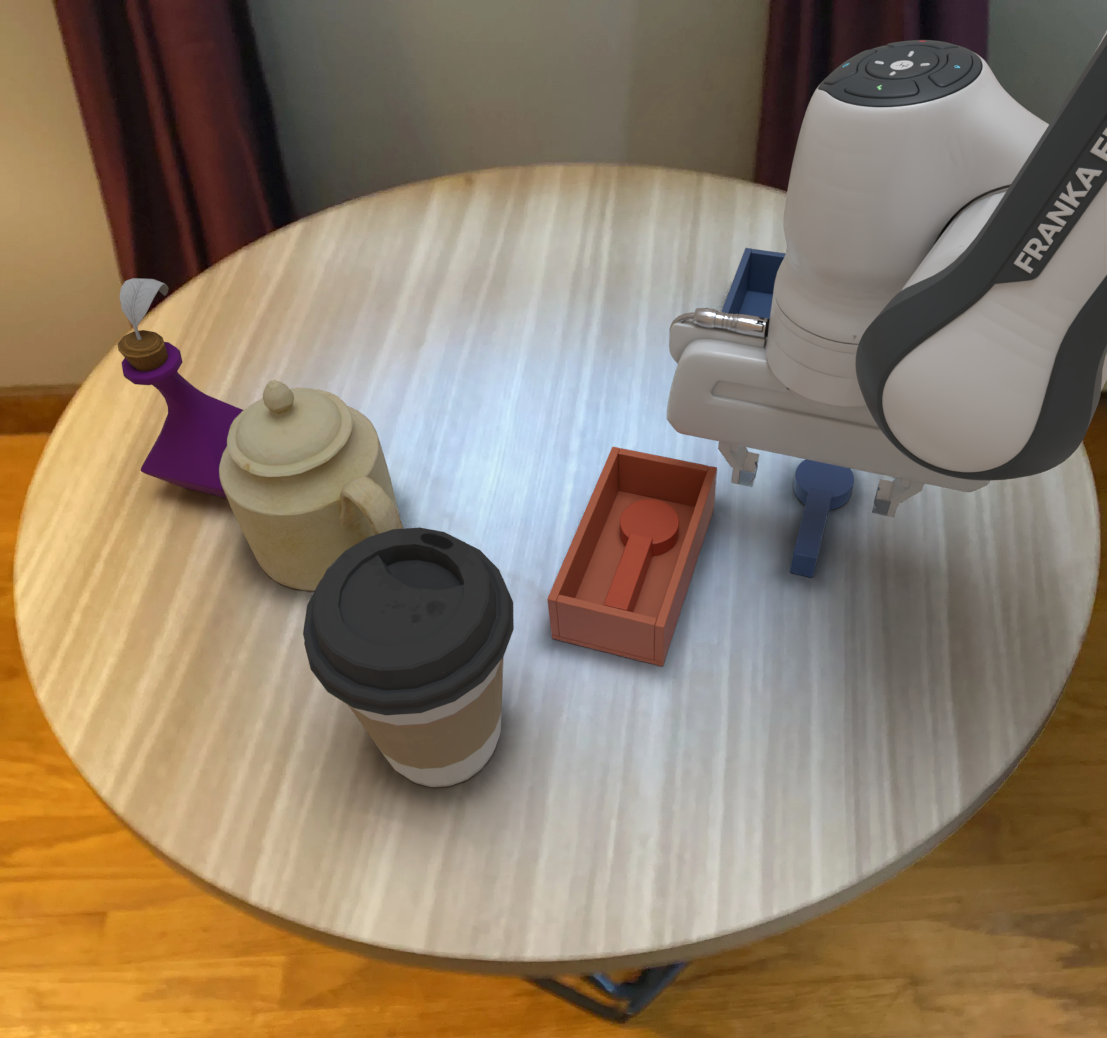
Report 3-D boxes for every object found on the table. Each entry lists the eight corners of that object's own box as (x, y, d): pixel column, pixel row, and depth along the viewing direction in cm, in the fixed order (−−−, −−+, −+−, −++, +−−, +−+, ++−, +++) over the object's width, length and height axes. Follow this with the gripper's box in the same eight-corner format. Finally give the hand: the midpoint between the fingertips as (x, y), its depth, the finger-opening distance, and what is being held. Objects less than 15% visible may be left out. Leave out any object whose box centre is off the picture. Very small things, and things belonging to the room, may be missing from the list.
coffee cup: (562, 693, 66) (546, 546, 55) (481, 850, 60) (443, 720, 49) (410, 637, 70) (365, 488, 59) (317, 779, 63) (247, 643, 52)
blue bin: (828, 303, 90) (836, 260, 87) (798, 411, 82) (805, 368, 78) (741, 290, 92) (745, 247, 89) (703, 394, 84) (705, 351, 80)
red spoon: (646, 634, 68) (646, 614, 67) (585, 619, 69) (584, 600, 68) (685, 518, 75) (686, 497, 73) (629, 506, 76) (628, 486, 74)
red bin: (714, 509, 76) (717, 466, 72) (662, 667, 67) (664, 627, 64) (613, 488, 78) (612, 445, 74) (551, 638, 69) (546, 598, 66)
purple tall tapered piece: (238, 519, 78) (152, 332, 64) (154, 499, 80) (54, 314, 66) (285, 451, 83) (214, 262, 69) (205, 433, 85) (121, 247, 71)
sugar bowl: (471, 504, 78) (442, 349, 66) (413, 620, 71) (369, 471, 60) (296, 467, 81) (240, 314, 70) (225, 574, 75) (150, 425, 63)
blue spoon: (831, 582, 71) (836, 562, 69) (770, 568, 72) (773, 549, 70) (855, 474, 77) (860, 454, 75) (798, 463, 78) (802, 443, 76)
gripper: (656, 336, 60) (651, 493, 71) (1027, 404, 55) (963, 562, 65) (684, 272, 64) (675, 431, 74) (1034, 330, 59) (972, 491, 69)
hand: (812, 493), depth 70 cm, fingers open, 8 cm apart
